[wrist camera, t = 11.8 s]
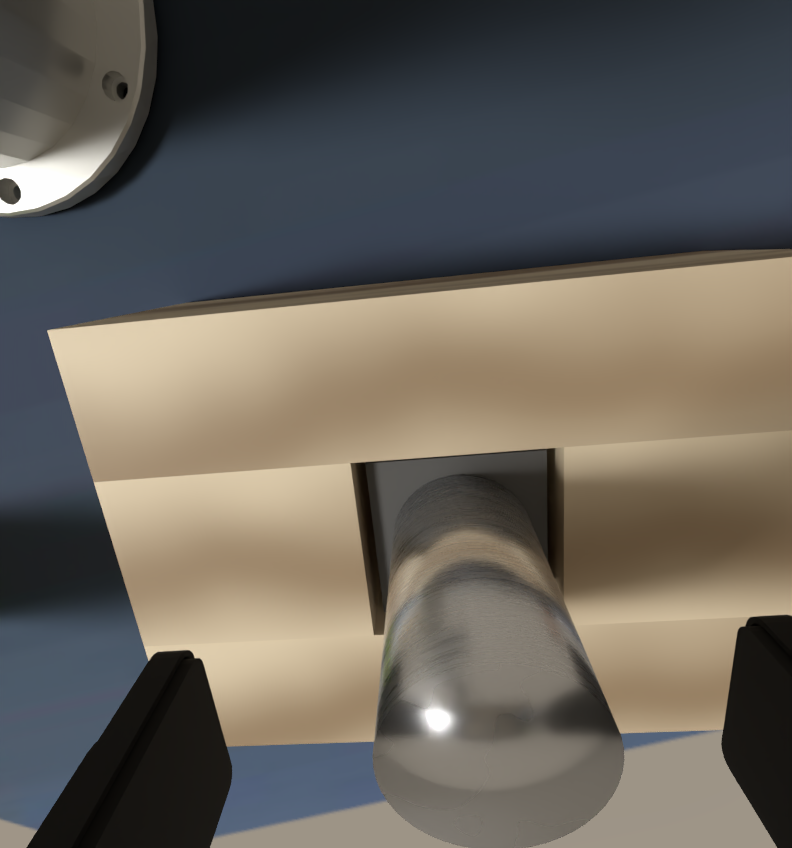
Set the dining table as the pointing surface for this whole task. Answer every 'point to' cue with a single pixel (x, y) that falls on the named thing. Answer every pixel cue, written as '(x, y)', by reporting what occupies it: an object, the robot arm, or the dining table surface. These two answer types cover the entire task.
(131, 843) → the robot arm
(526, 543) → the peg
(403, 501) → the gray square panel
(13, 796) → the dining table surface
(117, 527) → the socket block
